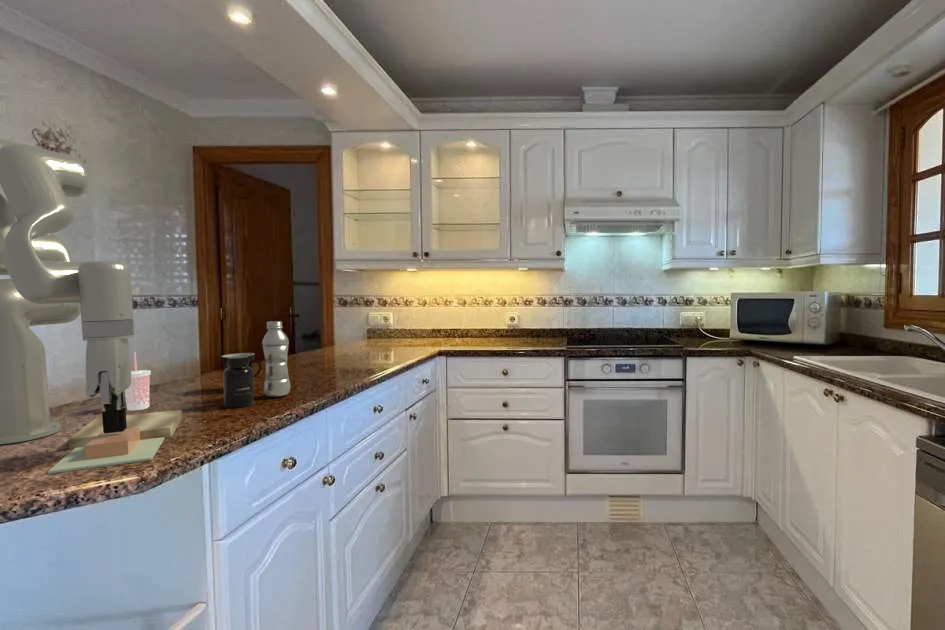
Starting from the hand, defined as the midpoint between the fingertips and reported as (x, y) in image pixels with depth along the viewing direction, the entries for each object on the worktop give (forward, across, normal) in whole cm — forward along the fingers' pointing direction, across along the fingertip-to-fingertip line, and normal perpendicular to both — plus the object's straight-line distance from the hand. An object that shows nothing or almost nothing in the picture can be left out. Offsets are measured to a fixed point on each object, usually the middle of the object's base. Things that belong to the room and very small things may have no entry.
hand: (115, 431), depth 90 cm
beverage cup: (+4, -37, -4) cm, 37 cm away
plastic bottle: (+4, -34, +28) cm, 44 cm away
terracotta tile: (+3, +1, 0) cm, 3 cm away
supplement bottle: (+4, -28, +20) cm, 34 cm away
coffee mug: (+4, -48, +20) cm, 52 cm away
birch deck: (+3, -12, 0) cm, 12 cm away
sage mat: (+3, +3, 0) cm, 5 cm away
